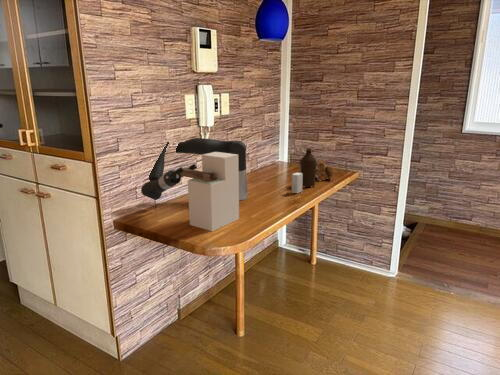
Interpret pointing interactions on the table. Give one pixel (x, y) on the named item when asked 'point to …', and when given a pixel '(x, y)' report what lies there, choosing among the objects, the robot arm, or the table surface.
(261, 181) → the table surface
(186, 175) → the walnut T-handle
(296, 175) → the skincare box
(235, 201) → the stepped stand
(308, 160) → the olive oil
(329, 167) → the stuffed squirrel
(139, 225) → the table surface
